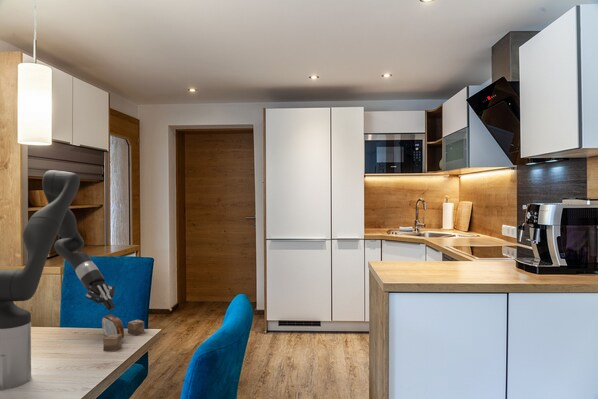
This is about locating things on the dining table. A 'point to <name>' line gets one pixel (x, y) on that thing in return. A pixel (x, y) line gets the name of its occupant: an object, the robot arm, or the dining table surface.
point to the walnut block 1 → (112, 342)
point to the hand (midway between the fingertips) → (112, 308)
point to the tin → (112, 325)
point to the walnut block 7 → (136, 327)
